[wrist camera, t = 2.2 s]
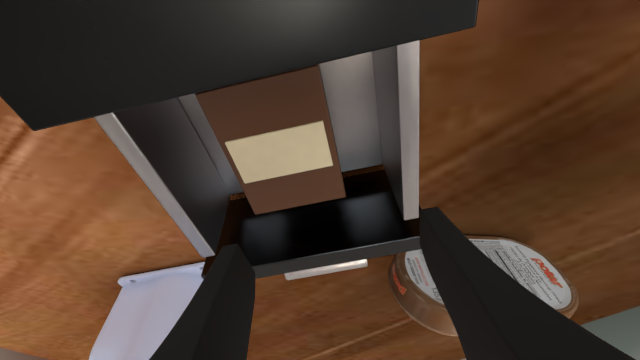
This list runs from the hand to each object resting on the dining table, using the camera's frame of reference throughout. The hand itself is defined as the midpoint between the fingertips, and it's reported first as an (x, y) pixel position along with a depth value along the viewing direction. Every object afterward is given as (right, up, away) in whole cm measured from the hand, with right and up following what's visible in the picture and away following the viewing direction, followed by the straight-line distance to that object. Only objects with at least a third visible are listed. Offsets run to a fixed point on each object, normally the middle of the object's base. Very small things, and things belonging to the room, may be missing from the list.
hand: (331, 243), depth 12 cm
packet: (-3, +6, +5) cm, 8 cm away
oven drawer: (-2, +5, +8) cm, 9 cm away
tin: (+13, -3, +17) cm, 21 cm away
